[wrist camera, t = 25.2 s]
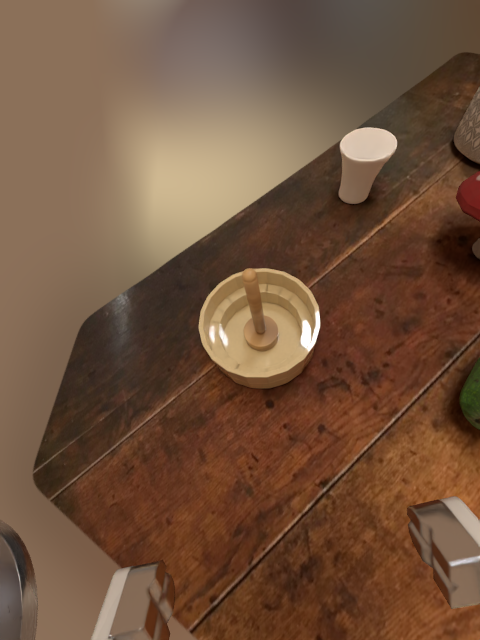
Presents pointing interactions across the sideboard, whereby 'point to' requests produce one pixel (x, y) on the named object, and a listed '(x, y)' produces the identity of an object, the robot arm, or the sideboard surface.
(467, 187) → the decorative mushroom
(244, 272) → the wooden dowel stand
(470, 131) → the planter
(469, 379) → the fruit
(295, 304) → the mixing bowl
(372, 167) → the cup
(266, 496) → the sideboard surface
